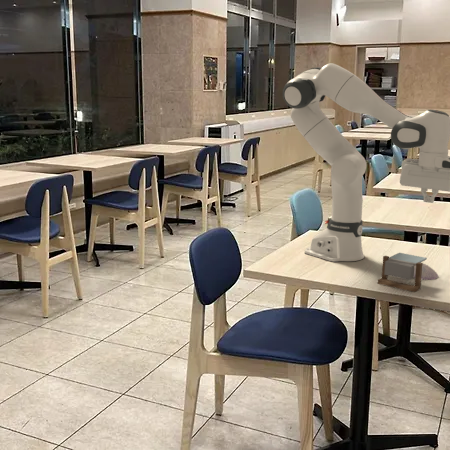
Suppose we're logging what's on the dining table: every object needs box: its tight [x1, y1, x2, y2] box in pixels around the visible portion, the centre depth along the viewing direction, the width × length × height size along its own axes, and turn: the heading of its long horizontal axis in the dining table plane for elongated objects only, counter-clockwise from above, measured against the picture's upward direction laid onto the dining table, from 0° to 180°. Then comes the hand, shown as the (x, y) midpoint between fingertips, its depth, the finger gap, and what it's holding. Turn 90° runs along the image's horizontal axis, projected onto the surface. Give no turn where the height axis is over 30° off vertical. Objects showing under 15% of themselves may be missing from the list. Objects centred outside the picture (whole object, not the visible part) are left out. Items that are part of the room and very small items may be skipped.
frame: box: [377, 255, 424, 293], centre depth 184 cm, size 13×4×8 cm, turn 49°
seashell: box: [413, 263, 439, 281], centre depth 196 cm, size 10×6×10 cm
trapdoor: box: [384, 252, 427, 281], centre depth 186 cm, size 9×11×5 cm
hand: (428, 202), depth 191 cm, fingers closed
